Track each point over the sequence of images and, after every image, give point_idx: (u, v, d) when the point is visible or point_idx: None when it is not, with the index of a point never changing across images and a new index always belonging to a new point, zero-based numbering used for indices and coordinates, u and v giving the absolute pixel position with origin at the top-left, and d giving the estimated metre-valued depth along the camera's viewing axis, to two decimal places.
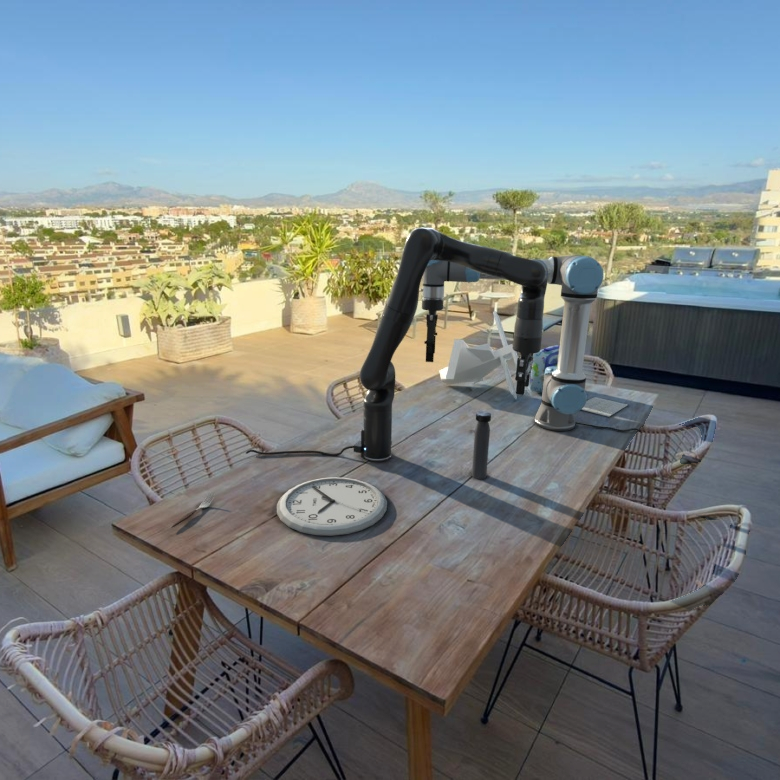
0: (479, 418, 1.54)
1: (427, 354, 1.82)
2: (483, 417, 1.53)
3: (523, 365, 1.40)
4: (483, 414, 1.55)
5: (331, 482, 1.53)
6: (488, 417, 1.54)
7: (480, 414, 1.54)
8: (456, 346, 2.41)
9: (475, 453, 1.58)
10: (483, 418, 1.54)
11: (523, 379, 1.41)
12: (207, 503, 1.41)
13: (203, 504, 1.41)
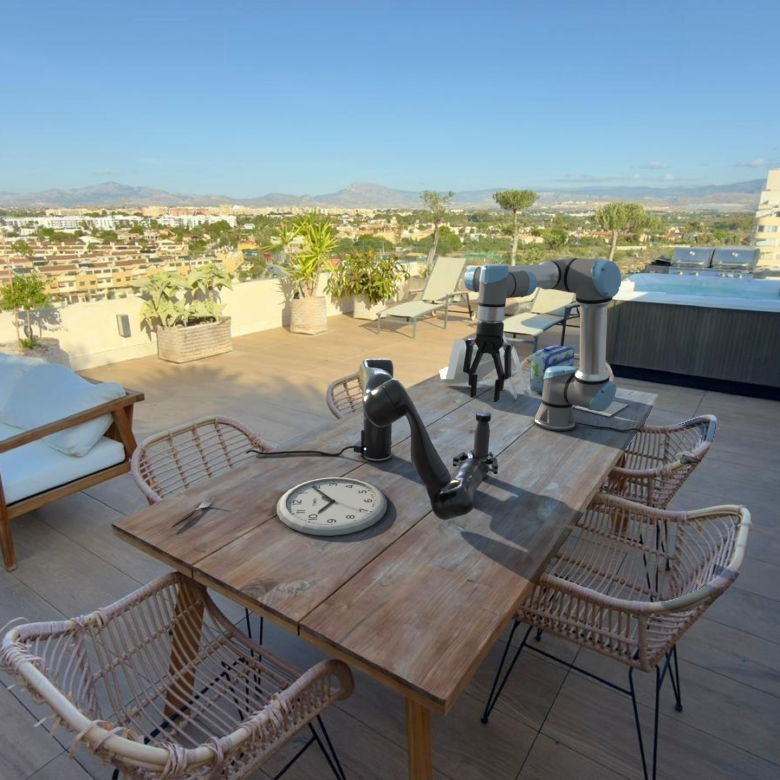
0: (479, 418, 1.54)
1: None
2: (483, 417, 1.53)
3: None
4: (483, 414, 1.55)
5: (331, 482, 1.53)
6: (488, 417, 1.54)
7: (480, 414, 1.54)
8: (456, 346, 2.41)
9: (475, 453, 1.58)
10: (483, 418, 1.54)
11: None
12: (207, 503, 1.41)
13: (203, 504, 1.41)
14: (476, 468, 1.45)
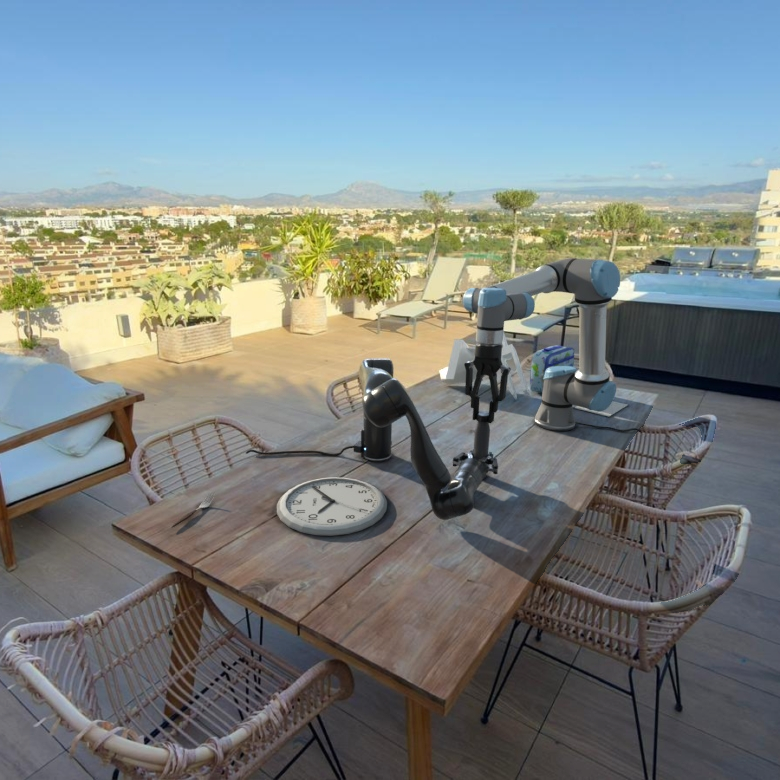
0: (479, 418, 1.54)
1: None
2: (483, 417, 1.53)
3: None
4: (483, 414, 1.55)
5: (331, 482, 1.53)
6: (488, 417, 1.54)
7: (480, 414, 1.54)
8: (456, 346, 2.41)
9: (475, 453, 1.58)
10: (483, 418, 1.54)
11: None
12: (207, 503, 1.41)
13: (203, 504, 1.41)
14: (476, 468, 1.45)
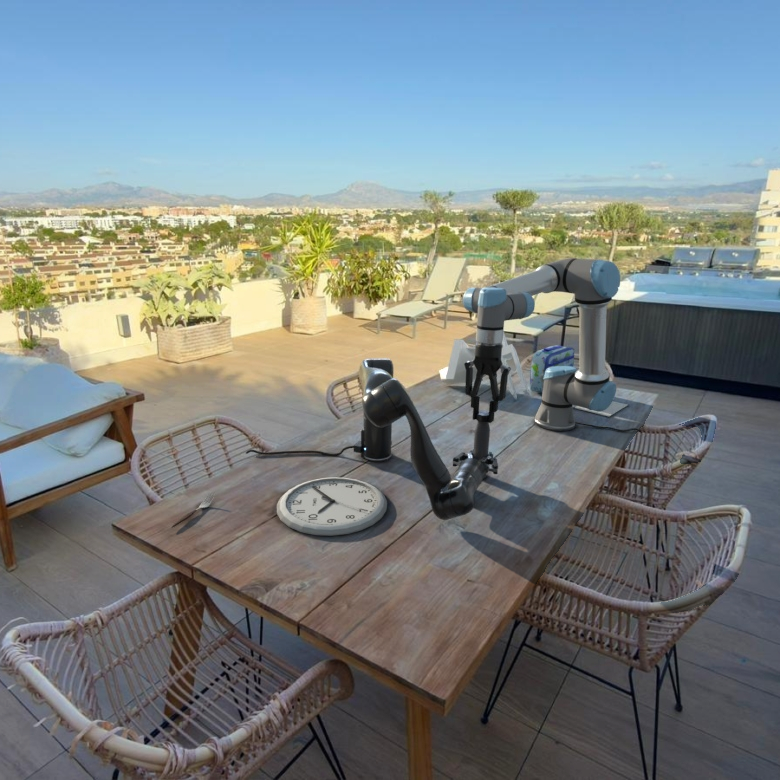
0: None
1: None
2: None
3: None
4: (485, 413, 1.55)
5: (331, 482, 1.53)
6: None
7: (487, 414, 1.54)
8: (456, 346, 2.41)
9: (475, 453, 1.58)
10: None
11: None
12: (207, 503, 1.41)
13: (203, 504, 1.41)
14: (476, 468, 1.45)
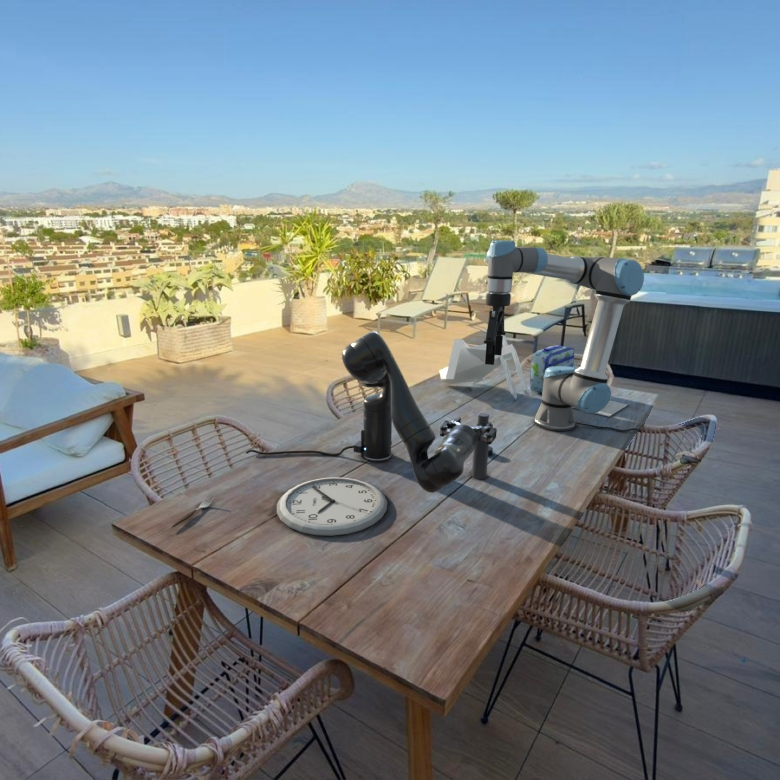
0: None
1: (487, 355, 1.60)
2: (490, 451, 1.75)
3: None
4: None
5: (331, 482, 1.53)
6: (492, 450, 1.76)
7: None
8: (456, 346, 2.41)
9: (475, 453, 1.58)
10: (490, 452, 1.75)
11: None
12: (207, 503, 1.41)
13: (203, 504, 1.41)
14: (467, 434, 1.28)
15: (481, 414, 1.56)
